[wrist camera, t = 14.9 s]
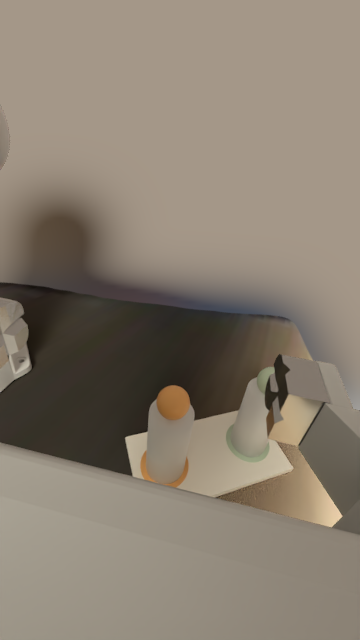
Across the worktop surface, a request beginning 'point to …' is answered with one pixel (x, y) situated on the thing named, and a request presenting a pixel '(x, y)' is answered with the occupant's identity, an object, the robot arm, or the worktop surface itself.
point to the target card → (214, 459)
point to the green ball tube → (252, 418)
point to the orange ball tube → (169, 434)
